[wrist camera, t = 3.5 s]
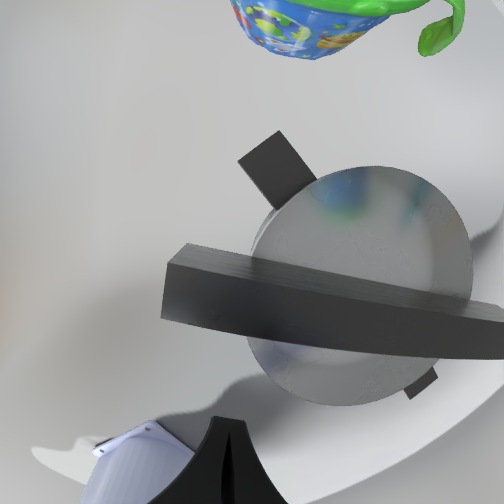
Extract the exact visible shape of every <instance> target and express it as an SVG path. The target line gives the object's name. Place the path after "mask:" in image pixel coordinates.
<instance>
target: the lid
mask: <svg viewBox="0 0 504 504" xmlns="http://www.w3.org/2000/svg"><path fill="white" fill-rule="evenodd" d="M472 283H473V258H472V251H471V245H470V241H469V238H468V234H467V231H466V229H465V226H464V224H463V222H462V219H461V218H460V216H459V214H458V212H457V211H456V209H455V207H454V206H453V205H452V204H451V202H450V201H449V200H448V199H447V197H446V196H445V195H444V194H443V193H441V192H440V191H439V190H438V189H437V188H436V187H435V186H433V185H432V184H431V183H429V182H427V181H426V180H425V179H423V178H421V177H419V176H417V175H415V174H412V173H410V172H407V171H404V170H400V169H396V168H392V167H383V166H368V167H367V166H366V167H356V168H351V169H346V170H341V171H337V172H334V173H332V174H329V175H326V176H324V177H321V178H319V179H317V180H316V181H314V182H312V183H310V184H308V185H306V186H305V187H304V188H302V189H301V190H299V191H298V192H297V193H295V194H294V195H293V196H291V197H290V198H289V199H288V200H287V201H286V202H285V203H284V204H283V205H282V206H281V207H280V208H279V209H278V210H277V211H276V212H275V214H274V215H273V216H272V217H271V219H270V220H269V221H268V222H267V224H266V225H265V227H264V229H263V230H262V232H261V234H260V235H259V237H258V239H257V241H256V243H255V245H254V247H253V250H252V252H251V254H250V256H247V255H242V254H238V253H233V252H228V251H223V250H218V249H213V248H208V247H203V246H199V245H193V244H189V243H187V244H186V245H185V246H184V247H183V248H182V249H181V250H180V251H179V252H178V253H177V254H176V255H175V256H174V257H173V258H172V259H171V260H170V261H169V262H168V264H167V272H166V279H165V286H164V294H163V302H162V311H161V318H162V319H167V320H171V321H175V322H180V323H184V324H188V325H193V326H198V327H202V328H207V329H212V330H217V331H222V332H227V333H233V334H238V335H243V336H247V340H248V343H249V346H250V348H251V350H252V352H253V354H254V356H255V358H256V360H257V361H258V362H259V364H260V366H261V367H262V369H263V370H264V371H265V372H266V373H267V374H268V376H269V377H270V378H271V379H272V380H273V381H274V382H276V383H277V384H278V385H279V386H281V387H282V388H283V389H285V390H286V391H288V392H290V393H291V394H293V395H295V396H297V397H299V398H302V399H304V400H307V401H310V402H314V403H318V404H322V405H331V406H352V405H360V404H365V403H369V402H373V401H377V400H380V399H383V398H385V397H388V396H390V395H392V394H394V393H396V392H398V391H400V390H402V389H404V388H405V387H407V386H409V385H410V384H412V383H413V382H415V381H416V380H417V379H419V378H420V377H421V376H422V375H424V374H425V373H426V372H427V371H428V370H429V369H430V368H431V367H432V366H433V365H434V364H435V363H436V362H437V361H438V360H439V359H440V358H441V359H477V360H503V359H504V309H502V308H501V307H499V306H497V305H493V304H488V303H483V302H478V301H473V300H470V296H471V291H472Z"/></svg>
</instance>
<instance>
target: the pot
mask: <svg viewBox="0 0 504 504" xmlns="http://www.w3.org/2000/svg"><path fill="white" fill-rule="evenodd" d="M238 164H239V165H240V166H241V167H242V169H243V170H244V171H245V172H246V174H247V175H248V176H249V177H250V179H251V180H252V181H253V183H254V184H255V185H256V186H257V188H258V189H259V190H260V191H261V193H262V194H263V195H264V197H265V198H266V199H267V200H268V202H269V203H270V204H271V206H272V207H273V208H274V209H273V210H272V211H271V212H270V213H269V215H268V216H267V218H266V219H265V221H264V222H263V224H262V225H261V227H260V229H259V231H258V233H257V235H256V237H255V240H254V243H253V246H252V249H251V252H252V250H253V247H254V245H255V243H256V241H257V239H258V237H259V235H260V234H261V232H262V230H263V229H264V227H265V225H266V224H267V222H268V221H269V220H270V219H271V217H272V216H273V215H274V214H275V212H276V211H277V210H278V209H279V208H280V207H281V206H282V205H283V204H284V203H285V202H286V201H287V200H288V199H289V198H290V197H291V196H293V195H294V194H295V193H297V192H298V191H299V190H301V189H302V188H304V187H305V186H306V185H308V184H310V183H312V182H314V181H316V180H317V178H316V177H315V176H314V174H313V173H312V172H311V170H310V169H309V168H308V166H307V165H306V164H305V162H304V161H303V160H302V158H301V157H300V156H299V155H298V153H297V152H296V151H295V149H294V148H293V147H292V146H291V144H290V143H289V142H288V140H287V139H286V138H285V137H284V135H283V134H282V133H281V132H280V131H277V132H276V133H275V134H273V135H272V136H270V137H269V138H268V139H266V140H265V141H264V142H262V143H261V144H260V145H258V146H257V147H256V148H254V149H253V150H252V151H250V152H249V153H248V154H246V155H245V156H244V157H242V158H241V159H240V160H238ZM437 378H438V376H437V374H436V372H435V370H434V368H433V366H432V367H431V368H430V369H429V370H428V371H427V372H426V373H425V374H424V375H422V376H421V377H420V378H419V379H417V380H416V381H415V382H413V383H412V384H410V385H409V386H407V387H405V388H404V389H403V391H404V392H405V394H406V395H407V396H408V398H409V399H410V400H411V399H412V398H413V397H415V396H416V395H417V394H418V393H420V392H421V391H422V390H424V389H425V388H426V387H427V386H429V385H430V384H431V383H432V382H433V381H435V380H436V379H437Z"/></svg>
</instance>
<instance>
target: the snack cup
mask: <svg viewBox="0 0 504 504" xmlns="http://www.w3.org/2000/svg"><path fill="white" fill-rule="evenodd" d="M230 1H231V4H232V6H233V8H234V11H235V13H236V17H237V19H238V21H239V23H240V25H241V27H242V28H243V30H244V31H245V32H246V34H247V36H248V37H249V38H250V39H251V40H252V41H253V42H255V43H256V44H257V45H261V46H262V47H265V48H266V49H267V50H269V51H270V52H273V53H275V54H279V55H283V56H288V57H297V58H302V59H310V60H316V59H318V58H320V57H323V56H327V55H331V54H334V53H336V52H338V51H340V50H342V49H343V48H345V47H346V46H348V45H349V44H350V43H352V42H353V41H354V40H356V39H358V38H359V37H361V36H362V35H364V34H365V33H366V32H367V31H368V30H370V29H371V28H373V27H374V26H376V25H378V24H380V23H382V22H383V21H385V20H386V19H388V18H389V16H390V15H393V14H399V13H405V12H409V11H411V10H414V9H416V8H419V7H420V6H422V5H424V4H425V3H427V2H428V1H430V0H230ZM445 1H447V2H448V3H450V4H451V5H452V6H453V15H452V16H451V17H447V18H445V19H442V20H441V21H438V22H434V23H432V24H430V25H428V26H427V27H426V28H424V29H423V30H422V33H421V35H420V38H419V42H418V52H419V53H420V55H422V56H424V57H425V56H428V55H430V56H431V55H434V54H436V53H438V52H440V51H441V50H442V49H444V48H445V47H446V46H448V45H449V44H450V43H451V42H452V41H453V40H454V39H455V38H456V36H457V35H458V34H459V33H460V31H461V28H462V25H463V21H464V14H465V1H464V0H445Z"/></svg>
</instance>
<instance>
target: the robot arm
mask: <svg viewBox="0 0 504 504" xmlns="http://www.w3.org/2000/svg"><path fill="white" fill-rule="evenodd" d="M147 427H148V428H147ZM92 452H93V454H94V455H96V456H97V457H98V458H99V459H98V461H97V464H96V466H95V468H94V470H93V472H92V474H91V476H90V479H89V481H88V483H87V485H86V488H85V489H84V492H83V494H82V496H81V499H80V504H288V503H287V502H286V501H285V500H284V498H283V497H282V496H281V494H280V493H279V492H278V490H277V489H276V488H275V486H274V485H273V483H272V482H271V480H270V479H269V477H268V475H267V474H266V472H265V470H264V468H263V466H262V464H261V462H260V460H259V458H258V456H257V454H256V452H255V449H254V447H253V445H252V442H251V439H250V436H249V433H248V430H247V426H246V423H245V421H242V420H236V419H229V418H223V417H218V416H213V417H211V422H210V425H209V428H208V431H207V433H206V435H205V437H204V439H203V441H202V442H201V444H200V446H199V448H198V449H197V451H196V452H193V451H192V450H191V449H189V448H188V447H187V446H185V445H184V444H183V443H181V442H180V441H179V440H178V439H176V438H175V437H174V436H172V435H171V434H170V433H169V432H167V431H166V430H165V429H164V428H163V427H161V426H160V425H159V424H158V423H157V422H155V421H152V420H150V421H147V422H145V423H143V424H141V425H140V426H137V427H136V428H134V429H132V430H130V431H128V432H126V433H124V434H122V435H120V436H118V437H116V438H114V439H112V440H110V441H108V442H105V443H103V444H101V445H99V446H97V447H95V448H93V450H92Z"/></svg>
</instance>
